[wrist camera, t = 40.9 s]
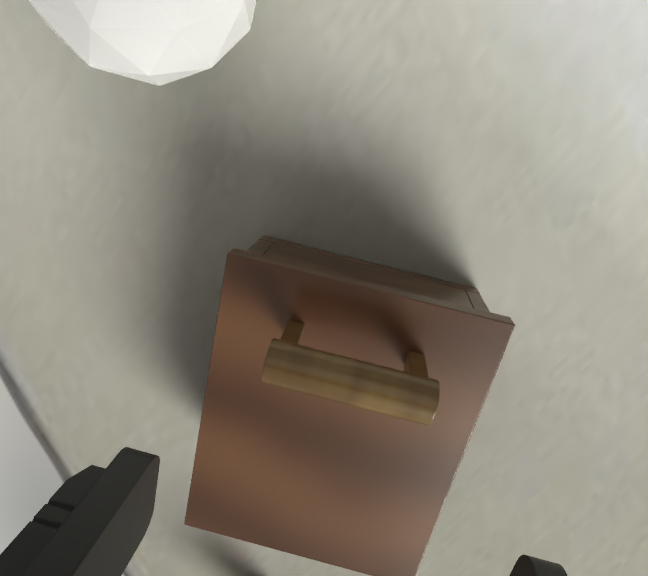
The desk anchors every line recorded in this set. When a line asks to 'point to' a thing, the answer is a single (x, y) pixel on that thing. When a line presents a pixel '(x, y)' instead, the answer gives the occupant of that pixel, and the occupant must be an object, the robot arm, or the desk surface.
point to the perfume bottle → (149, 33)
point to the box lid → (337, 413)
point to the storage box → (369, 272)
